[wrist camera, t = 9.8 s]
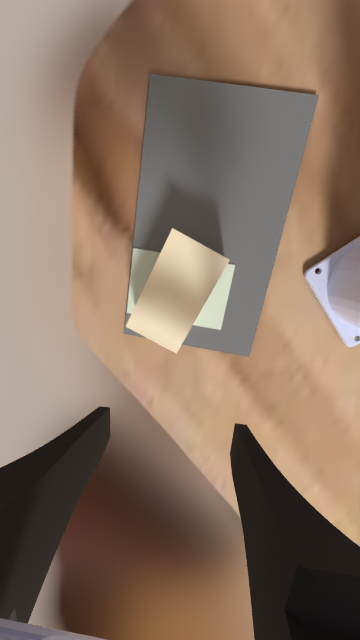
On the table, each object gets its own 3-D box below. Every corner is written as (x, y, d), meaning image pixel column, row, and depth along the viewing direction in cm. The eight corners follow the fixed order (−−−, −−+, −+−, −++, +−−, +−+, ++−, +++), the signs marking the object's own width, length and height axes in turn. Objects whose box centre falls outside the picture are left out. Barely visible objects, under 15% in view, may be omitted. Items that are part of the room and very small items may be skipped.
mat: (151, 77, 16) (149, 72, 16) (315, 99, 16) (319, 94, 15) (125, 332, 21) (123, 333, 21) (248, 355, 21) (249, 357, 20)
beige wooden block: (177, 234, 18) (172, 228, 15) (224, 260, 18) (229, 259, 15) (137, 316, 20) (125, 326, 17) (180, 339, 20) (176, 353, 17)
